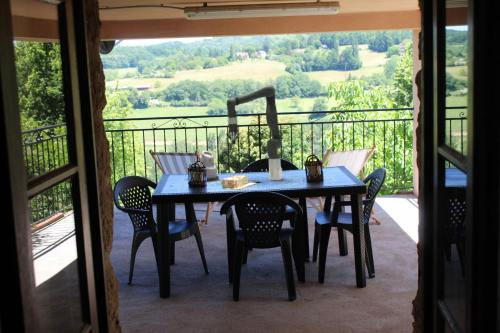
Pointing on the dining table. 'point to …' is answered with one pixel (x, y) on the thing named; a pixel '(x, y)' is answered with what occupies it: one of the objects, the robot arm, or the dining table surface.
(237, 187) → the oak board
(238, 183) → the stack of blocks
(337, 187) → the dining table surface
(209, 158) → the juicer
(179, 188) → the dining table surface
